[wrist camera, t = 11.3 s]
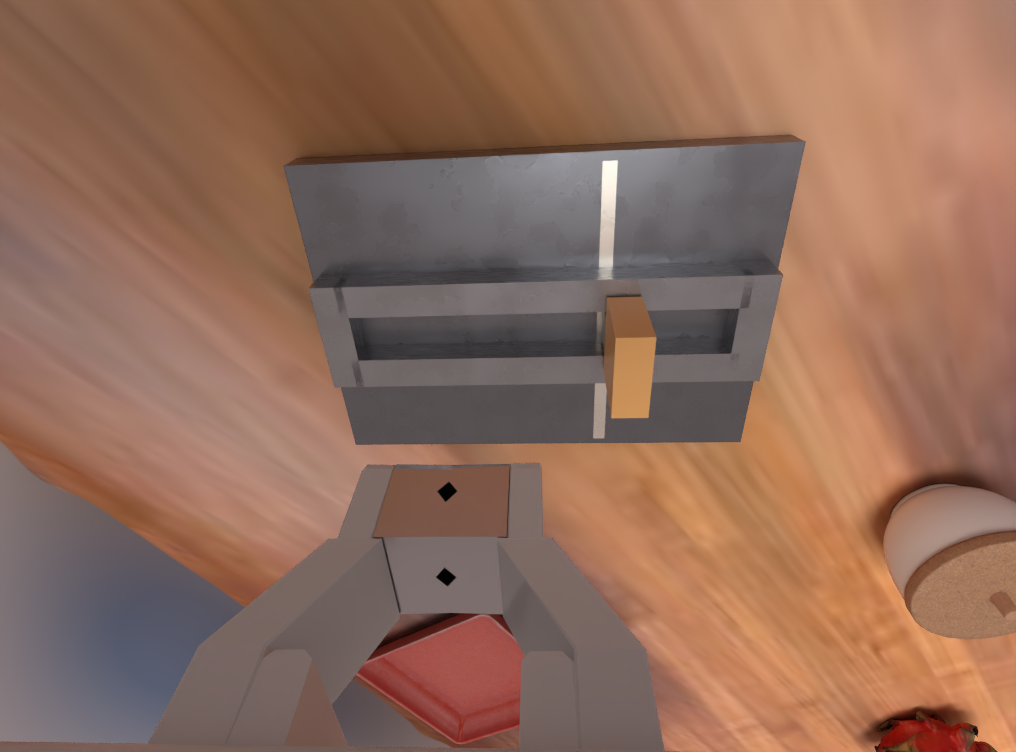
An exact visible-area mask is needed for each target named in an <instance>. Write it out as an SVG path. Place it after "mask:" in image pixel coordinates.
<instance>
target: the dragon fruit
mask: <svg viewBox="0 0 1016 752" xmlns="http://www.w3.org/2000/svg"><path fill="white" fill-rule="evenodd" d="M916 719H918V720H905V721H899V720H892V719H890V720H888V721H886V722H884V723H883V724H882V725H881V726H880V727H879V728H878V730H877V731H880V732H881V731H883V730H888V729H890V728H891V727H893V728H892V731H891V732H889V733H888V734H887V735H885V736H884V737H883V738H882V739H881V742H880V744H879V745H878V746H875V750H876V752H997V751H996V750H995V749H994V748H993V747H992V746H991V745H989V744H988V743H986V742H977V741H975V742H974V738H975V735H976V736H977V734H978V729H977V727H976V726H974V725H971V724H969V723H958V724H956V725H955V726H953V727H951V726H949V725H947V724H946V723H945V722H944V720H942V719H941V718H940V717H939V716H934V717H933V718H931V717H929V716H928V715H927V714H923V713H922V711H918V712H917V713H916ZM977 737H978V736H977Z"/></svg>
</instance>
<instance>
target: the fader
mask: <svg viewBox="0 0 1016 752" xmlns="http://www.w3.org/2000/svg"><path fill="white" fill-rule="evenodd" d="M602 343H603V349H604V377H605V383H606V390H607V396H608V402H609V408H610V414H611V418H648V417H649V407H650V397H651V387H652V377H653V367H654V357H655V347H656V334H655V331H654V329H653V326H652V323H651V320H650V317H649V314H648V311H647V309H646V306H645V303H644V300H643V297H607V304H606V312H603V313H602Z"/></svg>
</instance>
